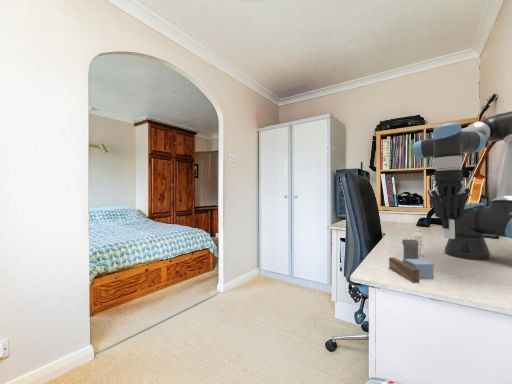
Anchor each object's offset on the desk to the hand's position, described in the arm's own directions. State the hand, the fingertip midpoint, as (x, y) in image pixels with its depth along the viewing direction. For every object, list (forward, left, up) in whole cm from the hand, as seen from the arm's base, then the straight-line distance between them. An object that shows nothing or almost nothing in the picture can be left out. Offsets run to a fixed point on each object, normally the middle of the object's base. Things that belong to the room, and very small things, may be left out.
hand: (449, 237), depth 82 cm
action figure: (-4, -25, -13) cm, 28 cm away
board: (+16, -1, -13) cm, 20 cm away
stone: (+7, -11, -13) cm, 18 cm away
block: (+11, 0, -13) cm, 17 cm away
